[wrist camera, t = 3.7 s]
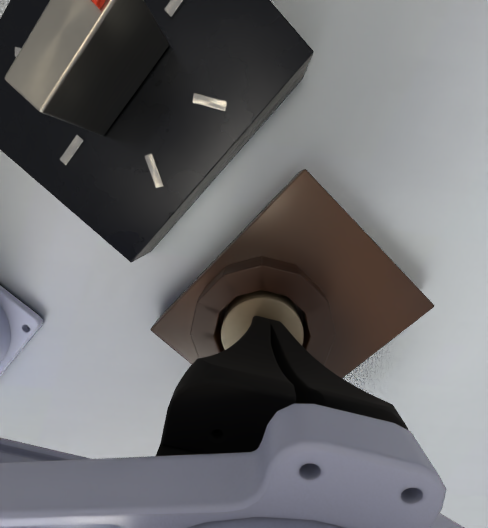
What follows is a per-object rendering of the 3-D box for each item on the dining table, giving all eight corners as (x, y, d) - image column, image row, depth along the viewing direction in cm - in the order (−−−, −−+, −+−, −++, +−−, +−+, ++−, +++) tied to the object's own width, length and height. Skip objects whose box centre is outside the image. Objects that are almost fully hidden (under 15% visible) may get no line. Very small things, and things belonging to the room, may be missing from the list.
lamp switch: (272, 414, 18) (275, 460, 15) (158, 318, 16) (135, 347, 13) (420, 296, 15) (461, 322, 12) (300, 170, 14) (313, 164, 11)
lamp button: (261, 365, 15) (262, 386, 14) (209, 320, 15) (203, 336, 13) (313, 320, 14) (321, 337, 13) (260, 270, 14) (261, 281, 12)
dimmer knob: (103, 137, 12) (34, 111, 8) (77, 112, 11) (-7, 74, 8) (170, 45, 11) (126, -32, 7) (143, 16, 10) (82, -79, 7)
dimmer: (150, 251, 15) (129, 263, 13) (3, 122, 14) (-54, 105, 11) (303, 78, 13) (314, 49, 10) (142, -104, 11) (109, -191, 9)
